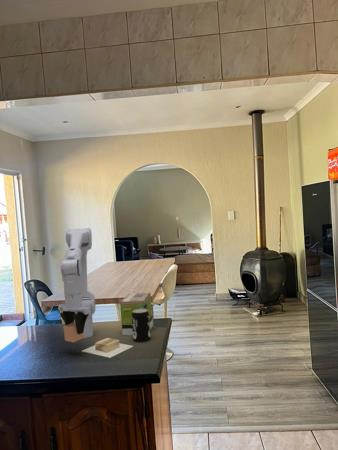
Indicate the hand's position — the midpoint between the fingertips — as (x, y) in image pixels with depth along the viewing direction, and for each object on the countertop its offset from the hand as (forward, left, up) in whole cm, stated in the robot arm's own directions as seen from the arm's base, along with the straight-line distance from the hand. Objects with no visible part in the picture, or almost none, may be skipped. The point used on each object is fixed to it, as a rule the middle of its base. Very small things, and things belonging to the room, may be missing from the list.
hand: (75, 332), depth 128 cm
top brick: (0, -1, -2) cm, 2 cm away
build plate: (+7, +8, -8) cm, 13 cm away
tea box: (+3, +30, -8) cm, 31 cm away
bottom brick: (+7, +8, -7) cm, 13 cm away
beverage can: (+12, +21, -8) cm, 26 cm away
